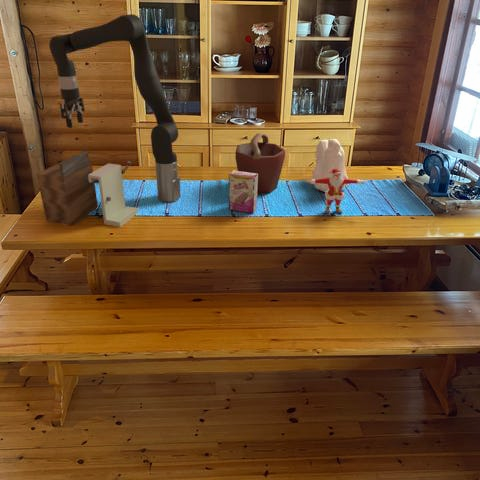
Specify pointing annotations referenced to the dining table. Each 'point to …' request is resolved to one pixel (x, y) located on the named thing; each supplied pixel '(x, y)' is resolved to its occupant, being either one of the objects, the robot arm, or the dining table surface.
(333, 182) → the santa figurine
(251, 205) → the candy bar box
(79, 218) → the cabinet
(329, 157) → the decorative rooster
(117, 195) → the white angled bracket
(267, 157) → the bucket
